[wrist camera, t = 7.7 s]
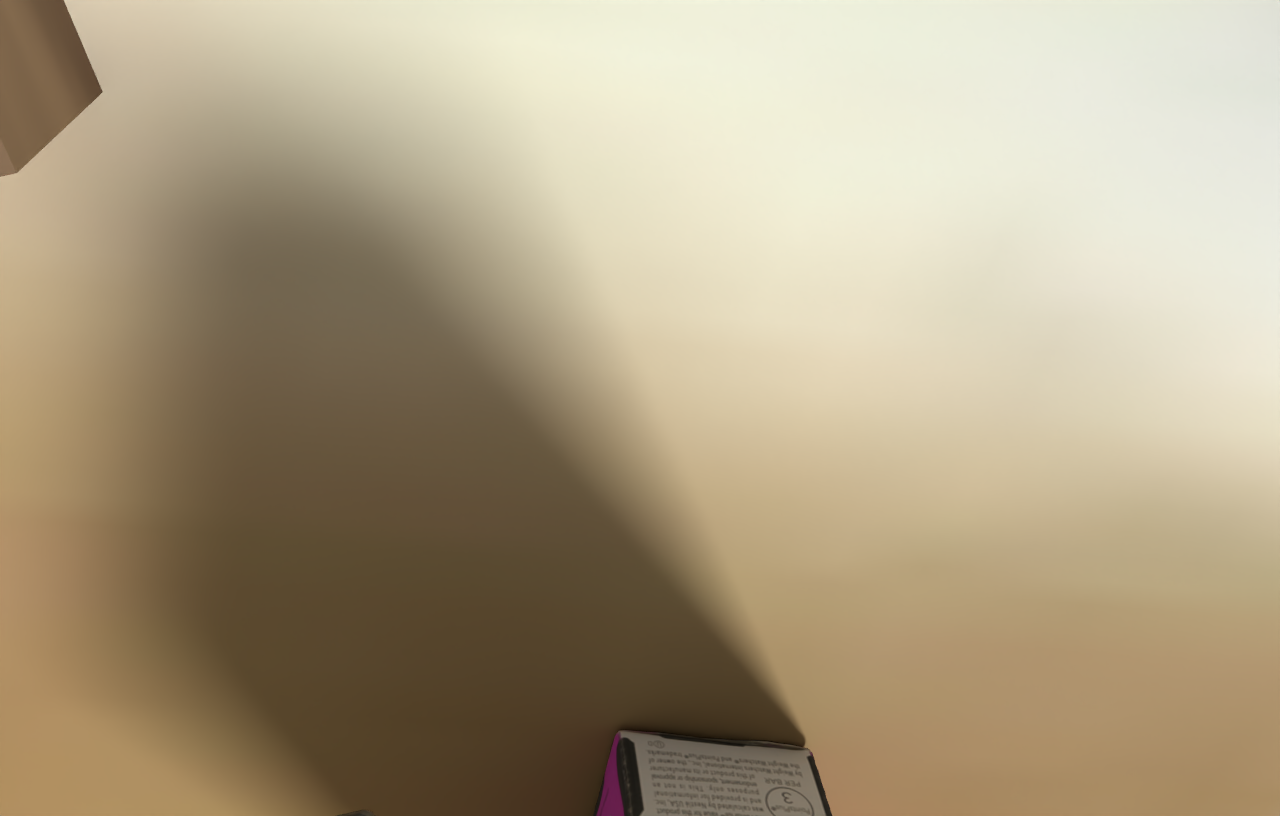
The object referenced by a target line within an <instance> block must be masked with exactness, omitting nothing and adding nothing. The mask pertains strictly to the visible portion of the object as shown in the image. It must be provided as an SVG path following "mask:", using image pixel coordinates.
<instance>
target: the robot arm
mask: <svg viewBox="0 0 1280 816" xmlns="http://www.w3.org/2000/svg"><path fill="white" fill-rule="evenodd" d="M337 816H375V815H374V813H373V812H371V811H369V810H360V811H356V812H351V813H346V814H342V815H337Z"/></svg>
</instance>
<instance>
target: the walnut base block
mask: <svg viewBox="0 0 1280 816" xmlns="http://www.w3.org/2000/svg"><path fill="white" fill-rule="evenodd" d="M101 93H102V90H101V87H100V85H99V83H98V80H97V78H96V76H95V73H94V71H93V69H92V66H91V64H90V61H89V59H88V57H87V54H86V52H85V50H84V47H83V45H82V43H81V40H80V38H79V35H78V33H77V31H76V28H75V26H74V24H73V21H72V19H71V17H70V14H69V12H68V10H67V7H66V5H65V2H64V0H0V177H1V176H5V175H10V174H14V173H17V172H18V171H19V170H20V169H21V168H23V167H24V166H25V165H26V164H27V163H28V162H29V161H30V160H31V159H32V158H33V157H34V156H35V155H36V154H37V153H38V152H40V151H41V150H42V149H43V148H44V147H45V146H46V145H47V144H48V143H49V142H50V141H51V140H52V139H53V138H54V137H55V136H57V135H58V134H59V133H60V132H61V131H62V130H63V129H64V128H65V127H66V126H67V125H68V124H69V123H70V122H71V121H72V120H74V119H75V118H76V117H77V116H78V115H79V114H80V113H81V112H82V111H83V110H84V109H85V108H86V107H87V106H88V105H89V104H91V103H92V102H93V101H94V100H95V99H96V98H97V97H98V96H99V95H100V94H101Z"/></svg>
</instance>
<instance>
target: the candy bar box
mask: <svg viewBox="0 0 1280 816" xmlns="http://www.w3.org/2000/svg"><path fill="white" fill-rule="evenodd" d="M593 816H832V814H831V811H830V807H829V804H828V801H827V799H826V795H825V791H824V788H823V786H822V783H821V779H820V776H819V772H818V770H817V767H816V765H815V760H814V757H813V754H812V752H811V751H810V750H809V749H808V748H803V747H798V746H793V745H788V744H779V743H774V742H768V741H754V740H725V739H709V738H698V737H691V736H682V735H674V734H666V733H656V732H640V731H630V730H620V731H618V732H617V734H616V735H615V738H614V741H613V745H612V748H611V752H610V756H609V759H608V763H607V767H606V771H605V775H604V779H603V783H602V786H601V790H600V794H599V797H598V801H597V804H596V808H595V811H594V815H593Z"/></svg>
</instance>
